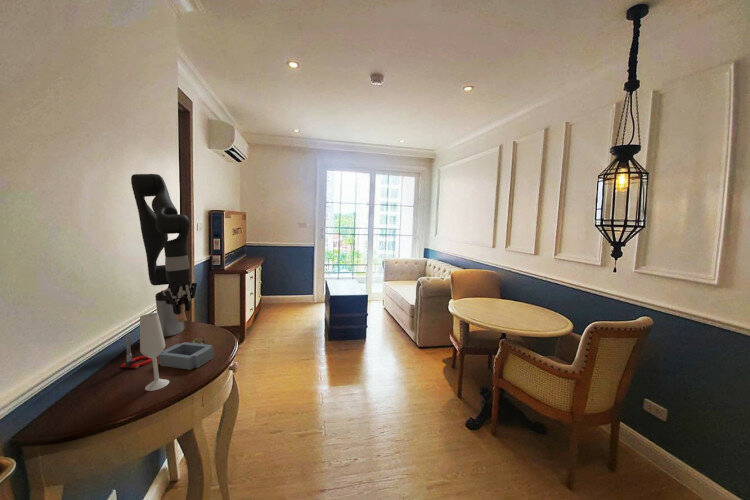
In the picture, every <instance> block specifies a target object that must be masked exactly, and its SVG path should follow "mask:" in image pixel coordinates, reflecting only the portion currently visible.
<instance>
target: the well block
mask: <svg viewBox="0 0 750 500" xmlns="http://www.w3.org/2000/svg"><path fill="white" fill-rule="evenodd" d="M214 356H215V355H214V346H213V344H207V343H206V344H198V343H189V342H187V341H184V342H182V343H176V344H174V345H171V346H170V347H167V348H164V350H163V351H162V352H161V353H160V354H159V356H158V357H159V363H160V364H159V365H160V366H161V367H167V368H168V367H169V368H175V369H181V370H189V371H190V370H192V369H194V368H196V369H198V368H200V367H202V366H203V365H205V364H206V363H208V362H209V360H210V361H212V360H213V359H214Z"/></svg>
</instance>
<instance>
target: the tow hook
mask: <svg viewBox="0 0 750 500" xmlns="http://www.w3.org/2000/svg"><path fill="white" fill-rule="evenodd" d="M125 337H126V339H125V344H126V345H125V346H126V347H125V348H126V355H125V357H126V361H125V362H124V363H121V365H120V368H126V369H139V367H141V366H144V365H148V364H149V363H153V362H152V358H149V357H147V356H144V355H141V356H136V357H134V358H133V354H132V349H131V348H132V347H131V339H130V334H129V333H128V334H127V333H126V334H125ZM145 359H146V360H145ZM139 360H145V361H142V362H136V361H139ZM135 362H136V363H135Z"/></svg>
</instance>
